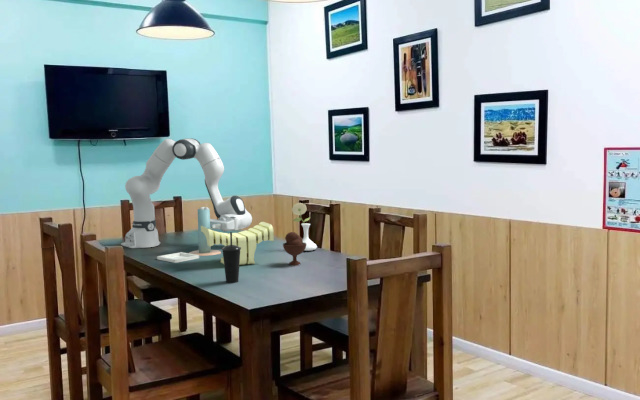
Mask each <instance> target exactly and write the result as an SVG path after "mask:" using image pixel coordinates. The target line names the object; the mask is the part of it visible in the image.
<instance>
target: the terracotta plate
mask: <svg viewBox="0 0 640 400" xmlns="http://www.w3.org/2000/svg"><path fill="white" fill-rule="evenodd" d="M188 253H189V254H195V255H199V257H202V256H204V257H206V256H214V255H215V256H216V255H221V254H222V250H218V249H211V252H210V253H199V249H197V250H191V251H190V252H188Z"/></svg>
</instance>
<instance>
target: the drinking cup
mask: <svg viewBox="0 0 640 400" xmlns="http://www.w3.org/2000/svg"><path fill="white" fill-rule="evenodd" d="M229 233H230V245H227V246H225V245H224V247H223V246H222V248H221V252H222V257H223V259H224V264H223V265H224V275H225V282H226V283H228V284H234V283H238V282H239V278H240V276H239V275H240V265H239V263H240V249H241V247H238V246H236V245H232V233H233V232H232V231H229Z"/></svg>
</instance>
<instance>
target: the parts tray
mask: <svg viewBox="0 0 640 400" xmlns="http://www.w3.org/2000/svg"><path fill="white" fill-rule="evenodd" d="M156 259H157V260H159V261H164V262H170V263H173V264H174V263H175V264H176V263H181V262H186V261H191V260H196V259H197V260H198V259H200V256H199V255H195V254H189V252H184V251H180V252H179V251H178V252H174V253H169V254H162V255H158V256H156Z"/></svg>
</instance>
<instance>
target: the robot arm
mask: <svg viewBox="0 0 640 400" xmlns="http://www.w3.org/2000/svg"><path fill="white" fill-rule="evenodd" d="M176 158H177V159H179V160H191V159H193V158H194V159H196V160H197V161H198V163H199V166H200V167H201V168H202V171H203V175H204V184H205V188H206V190H207V193H208V195H209V198H210V202H211V203H212V207H213V211H214V215H215V217H216V218H210V229H219V230H221V231H223V233H226V232H232V231H238V230H243V229H245V228H246V229H247V228H249V227H250V226H251V224H252V221H253V216H252V213H250V212H249V211H248V210H247V209H246V206H245V203H244V200H243V198H242V197H240V196H238V195H232V196H229V198H227V199H223V197H222V195H221V192H220V190H219V181H220V179H221V178H222V176H223V174H224V172H225V166H224V163H223V160H222V159H221V157H220V155H219V154H218V152H217V150H216V149H215V147H214V146H213V145H212V144H211V143H209V142H203V143H200V141H199V140H198V139H196V138H192V137H191V138H188V137H187V138H183V139H182V138H181V139H179V140H176V141H175V140H173V139H171V138H165V139H163V140H162V142H161V143H159V144H158V146H157V147H156V148H155V149H154V151H153V152H152V154H151V155H150V157H149V158H148V159H147V161H145V162H146V163H145V169H144V171H143V173H142V174H141V175H134V176H132V177H131V178H128V180H126V182H125V185H124V186H125V191H126V192H127V194H128V195H129V197H130V200H131V203H132V207H133V221H132V222H131V225H132V226H131V229H130V230H129V231H128V232H126V233H125V237H124V239H125V241H124V242H121V243H120V245H121V246H123V247H126V248H129V249H140V248H142V249H144V248H151V247H152V248H153V247H157V246H159V245H160V244H161V241H159V239H160V238H159V233H158V229H157V228H156V227H157V222H156V221H157V220H156V217H155V216H156V215H155V204H154V203H153V202H152V199H151V195H154V194H155V193H156V192H158V191H159V190H160V187H161V183H162V179H163V177H164V174H166V172H167V170H168V169H169V167H170V166H171V165H172V163H173V162H174V160H175V159H176Z"/></svg>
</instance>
